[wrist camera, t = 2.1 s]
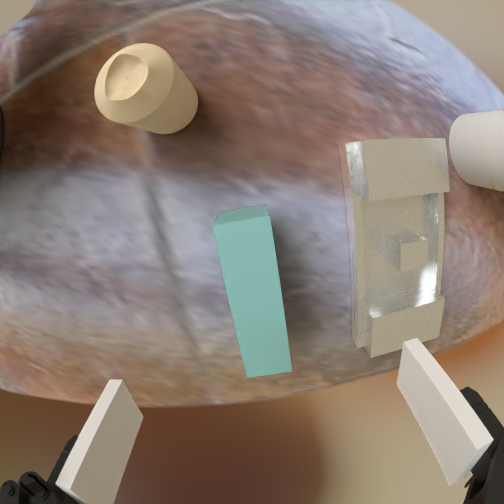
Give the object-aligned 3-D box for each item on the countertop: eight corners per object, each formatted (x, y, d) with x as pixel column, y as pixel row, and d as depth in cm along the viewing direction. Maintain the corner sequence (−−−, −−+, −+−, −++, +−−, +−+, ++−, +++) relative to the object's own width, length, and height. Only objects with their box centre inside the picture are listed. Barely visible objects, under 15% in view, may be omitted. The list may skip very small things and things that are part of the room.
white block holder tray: (337, 143, 23) (352, 140, 19) (427, 139, 23) (451, 138, 19) (351, 337, 29) (363, 359, 25) (427, 317, 29) (444, 334, 25)
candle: (137, 85, 21) (82, 52, 12) (195, 71, 21) (165, 24, 12) (142, 140, 23) (85, 131, 14) (202, 128, 23) (172, 107, 13)
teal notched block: (223, 206, 25) (212, 225, 17) (263, 199, 25) (269, 215, 17) (247, 324, 28) (247, 377, 21) (282, 319, 28) (292, 371, 21)
